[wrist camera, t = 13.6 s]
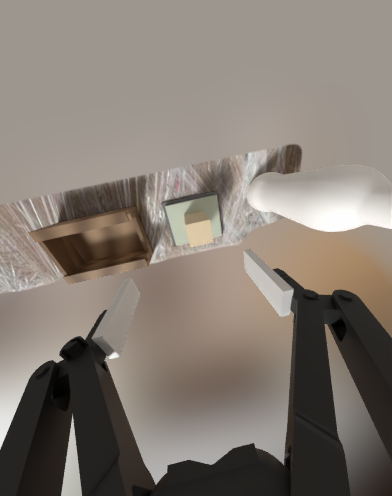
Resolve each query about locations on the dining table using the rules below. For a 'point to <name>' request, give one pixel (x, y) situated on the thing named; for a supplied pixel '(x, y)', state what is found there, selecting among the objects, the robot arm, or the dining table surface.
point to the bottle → (326, 197)
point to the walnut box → (96, 244)
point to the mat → (184, 201)
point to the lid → (195, 221)
